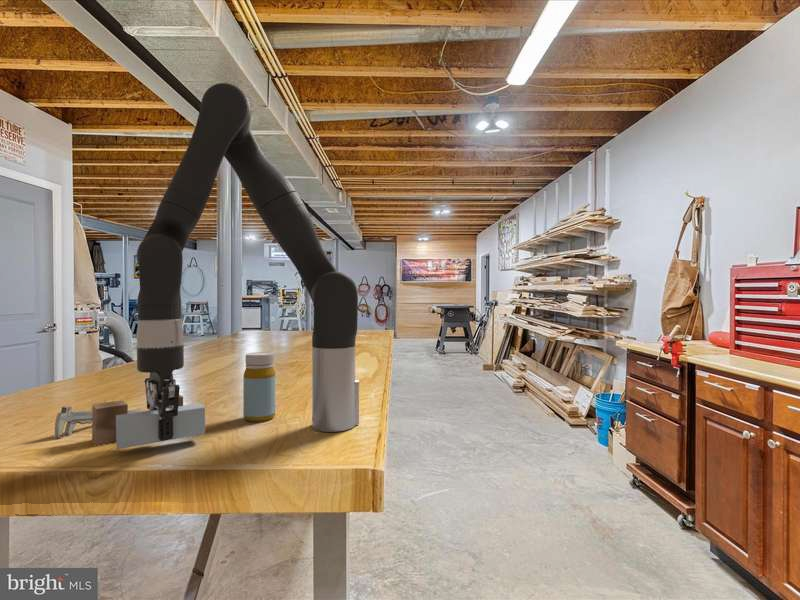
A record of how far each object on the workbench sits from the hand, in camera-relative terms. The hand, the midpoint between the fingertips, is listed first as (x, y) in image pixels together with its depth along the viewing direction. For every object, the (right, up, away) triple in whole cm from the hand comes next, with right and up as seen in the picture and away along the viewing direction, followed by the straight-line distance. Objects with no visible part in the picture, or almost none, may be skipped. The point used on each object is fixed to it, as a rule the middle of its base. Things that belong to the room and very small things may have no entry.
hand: (162, 436), depth 77 cm
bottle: (+11, -2, +20) cm, 23 cm away
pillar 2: (-5, -2, +11) cm, 13 cm away
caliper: (-21, -3, +15) cm, 26 cm away
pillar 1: (-13, -2, +4) cm, 14 cm away
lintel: (0, 0, 0) cm, 0 cm away
